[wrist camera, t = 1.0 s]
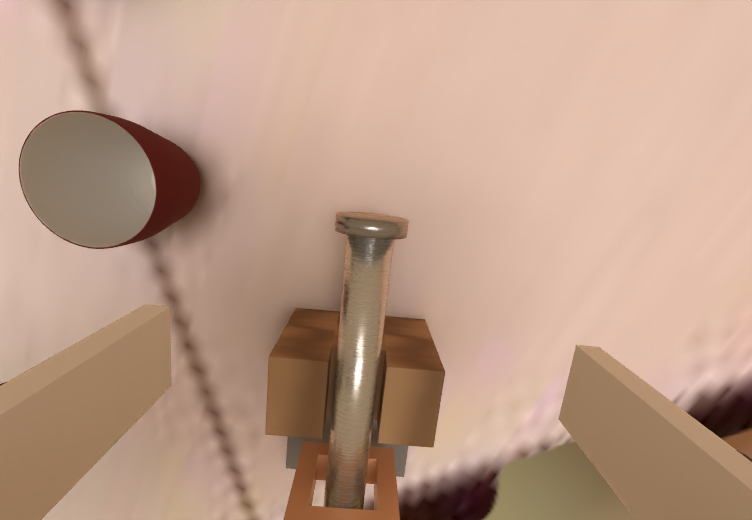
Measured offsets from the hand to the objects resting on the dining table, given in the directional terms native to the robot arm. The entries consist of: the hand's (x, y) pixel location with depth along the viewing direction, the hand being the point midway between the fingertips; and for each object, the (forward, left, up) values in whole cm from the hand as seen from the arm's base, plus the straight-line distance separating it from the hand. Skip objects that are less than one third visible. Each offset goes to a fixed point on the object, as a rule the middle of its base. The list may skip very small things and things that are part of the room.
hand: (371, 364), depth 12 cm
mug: (-18, +3, -22) cm, 29 cm away
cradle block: (0, -10, -22) cm, 24 cm away
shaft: (0, -10, -15) cm, 18 cm away
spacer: (0, -19, -18) cm, 26 cm away
